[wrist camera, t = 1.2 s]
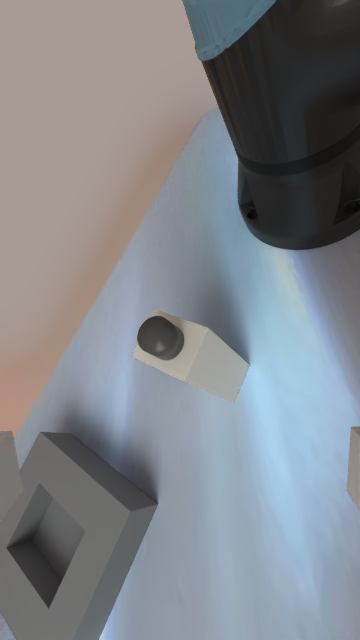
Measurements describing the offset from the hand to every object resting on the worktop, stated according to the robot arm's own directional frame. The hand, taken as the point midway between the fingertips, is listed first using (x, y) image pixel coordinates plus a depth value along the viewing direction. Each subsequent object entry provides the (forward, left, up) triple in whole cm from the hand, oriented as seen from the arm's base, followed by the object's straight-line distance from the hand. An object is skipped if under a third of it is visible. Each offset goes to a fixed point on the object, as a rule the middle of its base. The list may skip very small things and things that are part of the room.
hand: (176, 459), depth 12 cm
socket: (+13, -17, -18) cm, 28 cm away
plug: (-6, -6, -18) cm, 20 cm away
